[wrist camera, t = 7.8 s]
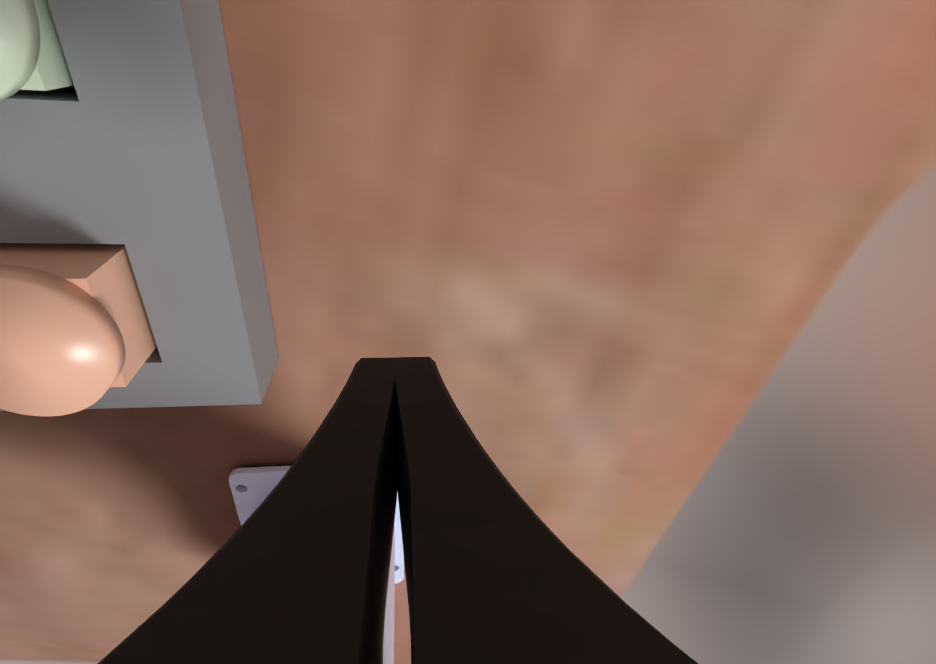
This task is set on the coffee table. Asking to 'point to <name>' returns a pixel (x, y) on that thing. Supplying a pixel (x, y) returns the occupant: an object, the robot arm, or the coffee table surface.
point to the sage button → (30, 49)
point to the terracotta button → (68, 326)
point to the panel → (150, 190)
